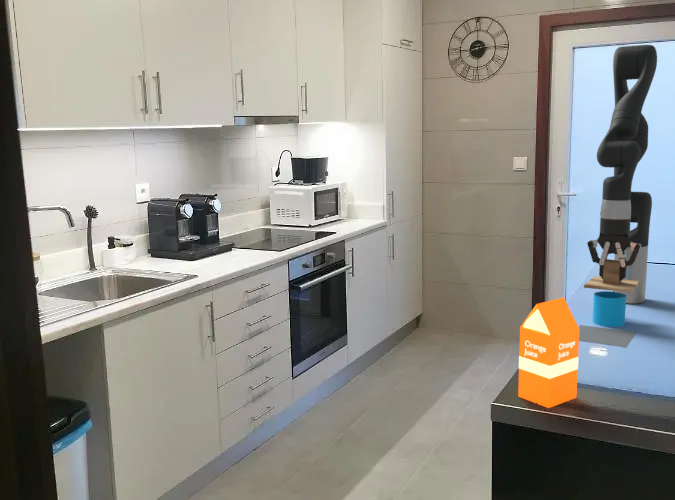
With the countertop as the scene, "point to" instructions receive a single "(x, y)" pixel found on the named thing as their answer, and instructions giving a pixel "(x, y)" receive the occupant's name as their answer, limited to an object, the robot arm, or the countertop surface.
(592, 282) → the oak lid
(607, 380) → the countertop surface
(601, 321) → the mug
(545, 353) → the orange juice
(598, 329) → the rubber mat
